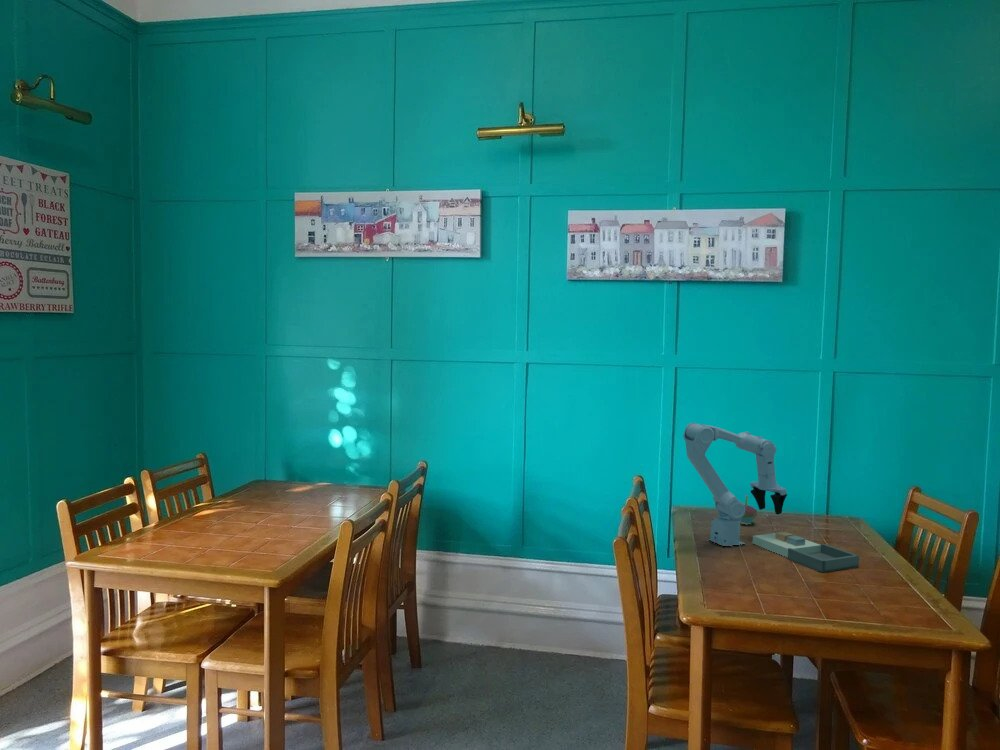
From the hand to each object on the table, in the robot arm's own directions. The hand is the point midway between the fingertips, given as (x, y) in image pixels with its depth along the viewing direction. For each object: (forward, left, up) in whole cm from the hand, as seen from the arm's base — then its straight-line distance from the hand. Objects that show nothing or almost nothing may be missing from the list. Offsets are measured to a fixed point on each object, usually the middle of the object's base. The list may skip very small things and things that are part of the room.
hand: (770, 511), depth 246 cm
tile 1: (-1, -8, -8) cm, 11 cm away
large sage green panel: (-1, -9, -11) cm, 14 cm away
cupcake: (+9, +21, -11) cm, 25 cm away
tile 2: (-1, -13, -8) cm, 15 cm away
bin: (-1, -24, -11) cm, 26 cm away
